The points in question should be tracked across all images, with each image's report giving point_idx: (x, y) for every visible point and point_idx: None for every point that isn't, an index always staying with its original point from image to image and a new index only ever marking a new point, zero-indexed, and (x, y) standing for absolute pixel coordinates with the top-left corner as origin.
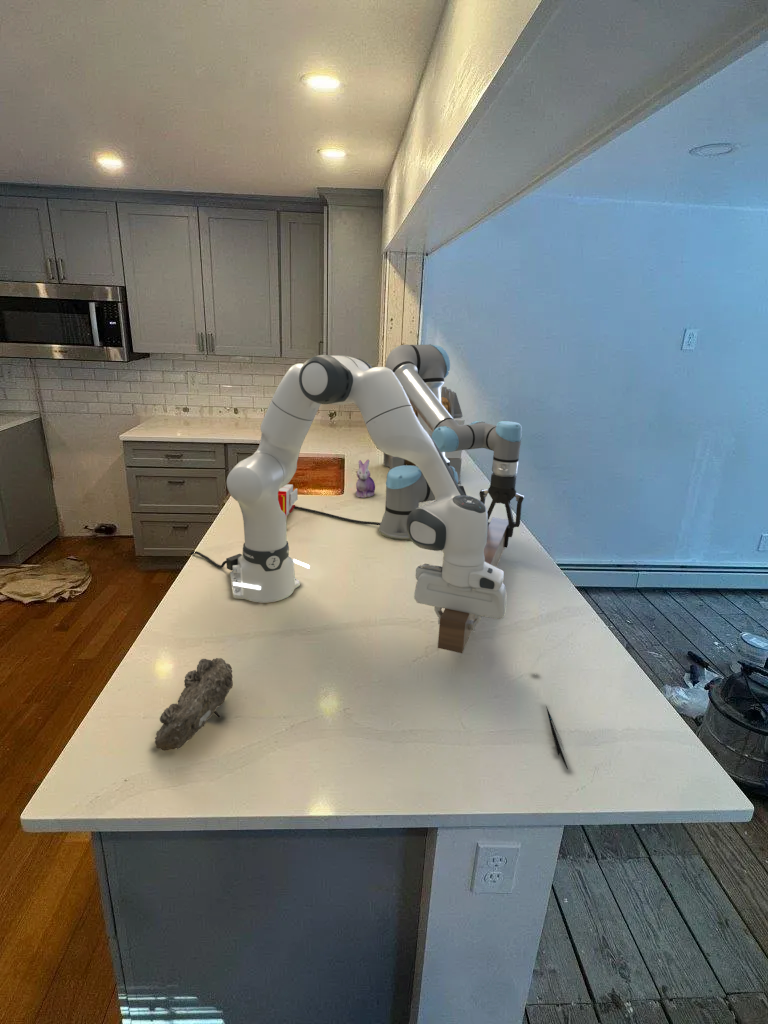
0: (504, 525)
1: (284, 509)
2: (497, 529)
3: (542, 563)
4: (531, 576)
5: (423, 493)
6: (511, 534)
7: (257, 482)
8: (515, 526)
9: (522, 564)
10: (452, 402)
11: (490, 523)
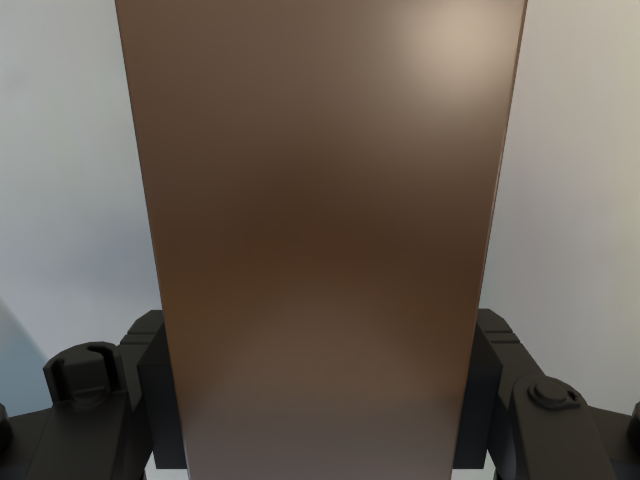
0: (221, 423)
1: None
2: (293, 204)
3: (42, 317)
4: (34, 90)
5: None
6: (138, 330)
7: None
8: (27, 418)
9: (144, 256)
10: None
11: (445, 418)
